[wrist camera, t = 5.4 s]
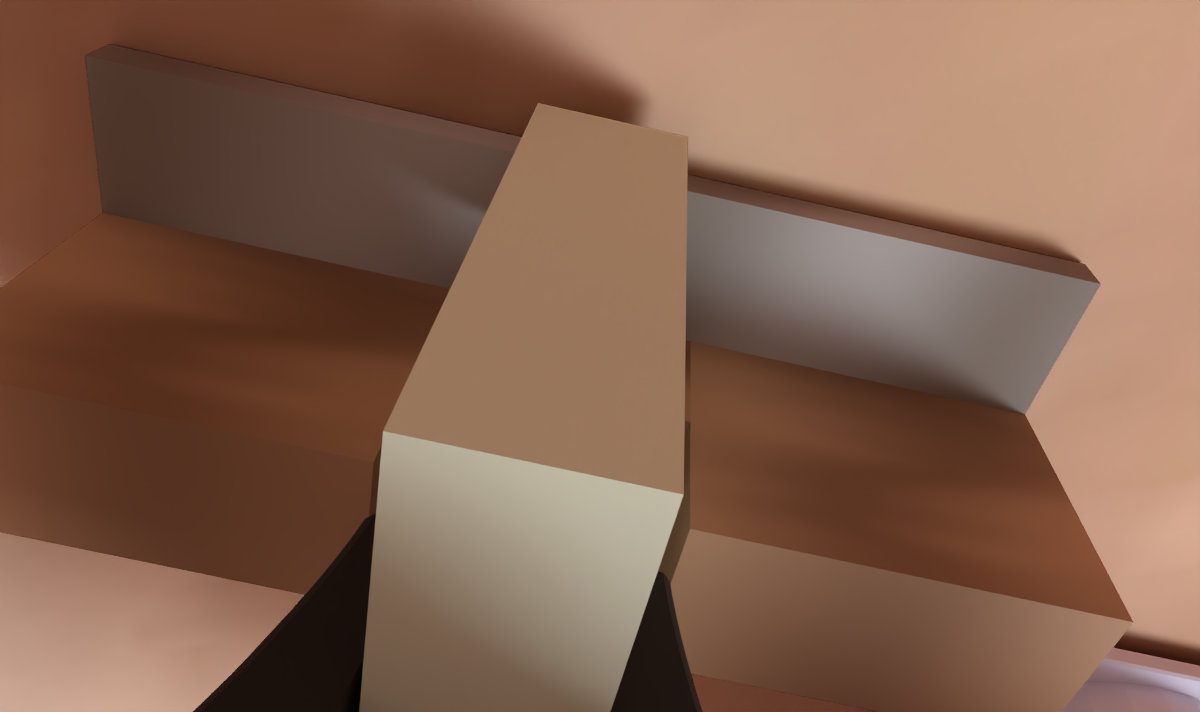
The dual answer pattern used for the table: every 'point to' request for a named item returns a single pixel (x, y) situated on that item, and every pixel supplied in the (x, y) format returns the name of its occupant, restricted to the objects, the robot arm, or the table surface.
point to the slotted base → (712, 392)
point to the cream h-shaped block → (538, 436)
